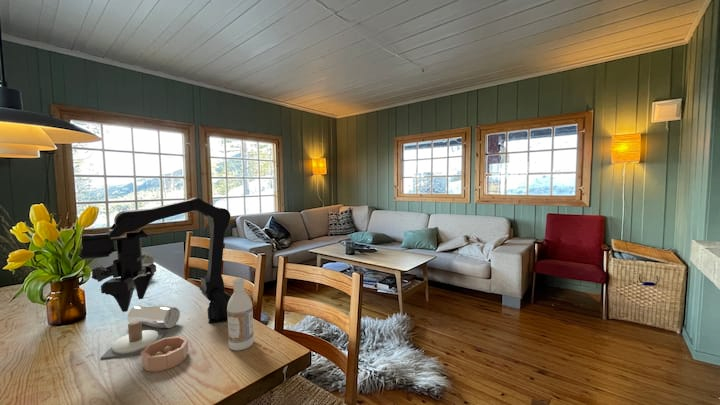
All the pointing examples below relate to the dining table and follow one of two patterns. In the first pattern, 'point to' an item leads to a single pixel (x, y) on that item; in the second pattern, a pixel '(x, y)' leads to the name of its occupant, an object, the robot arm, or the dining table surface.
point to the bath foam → (240, 318)
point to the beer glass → (155, 316)
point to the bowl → (164, 354)
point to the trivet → (112, 355)
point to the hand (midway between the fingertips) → (133, 304)
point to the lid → (134, 339)
